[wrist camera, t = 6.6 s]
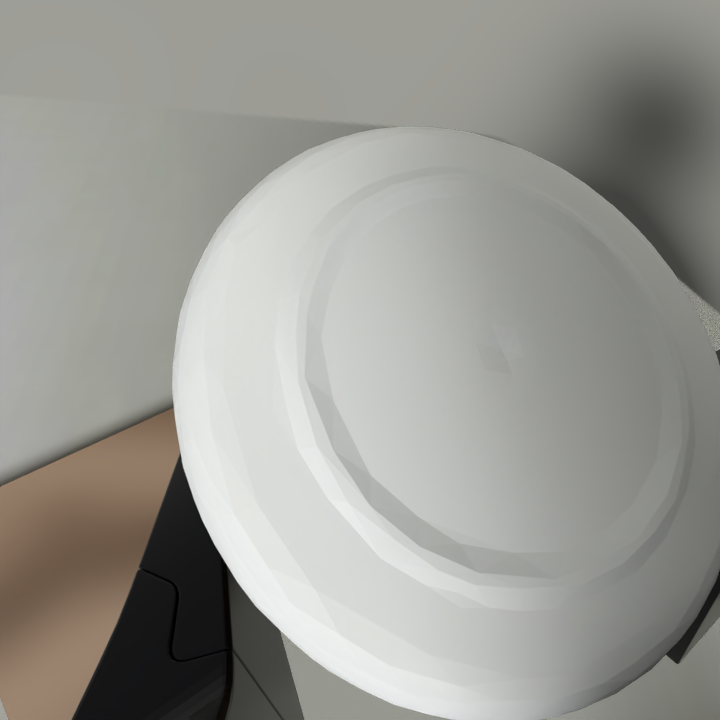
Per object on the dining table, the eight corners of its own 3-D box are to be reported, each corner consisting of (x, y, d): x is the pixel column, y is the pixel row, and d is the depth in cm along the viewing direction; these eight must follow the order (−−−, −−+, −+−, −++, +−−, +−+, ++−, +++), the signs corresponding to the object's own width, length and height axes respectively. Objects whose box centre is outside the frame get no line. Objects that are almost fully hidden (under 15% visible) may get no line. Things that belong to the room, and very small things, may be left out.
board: (294, 598, 18) (296, 601, 17) (41, 775, 14) (33, 787, 14) (197, 400, 19) (195, 397, 19) (-55, 515, 16) (-66, 516, 15)
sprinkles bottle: (381, 455, 16) (807, 316, 4) (313, 563, 14) (703, 977, 2) (289, 386, 16) (413, 18, 4) (209, 486, 14) (-65, 410, 2)
